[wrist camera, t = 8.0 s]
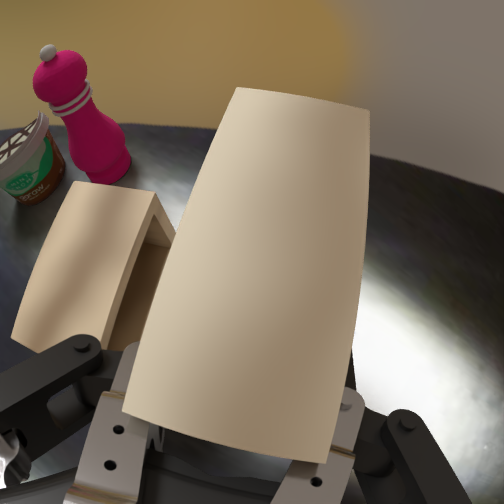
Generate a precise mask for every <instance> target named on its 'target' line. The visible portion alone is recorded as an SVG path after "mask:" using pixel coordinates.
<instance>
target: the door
mask: <svg viewBox="0 0 504 504" xmlns="http://www.w3.org/2000/svg"><path fill="white" fill-rule="evenodd" d="M369 160H370V117H369V110H365V109H361V108H357V107H352V106H348V105H344V104H340V103H335V102H330V101H325V100H320V99H315V98H310V97H304V96H298V95H292V94H286V93H279V92H272V91H265V90H258V89H249V88H240V87H237V88H236V90H235V93H234V95H233V97H232V99H231V101H230V104H229V105H228V108H227V110H226V112H225V114H224V117H223V119H222V121H221V123H220V125H219V128H218V130H217V132H216V135H215V137H214V139H213V142H212V144H211V146H210V149H209V151H208V153H207V156H206V158H205V160H204V163H203V165H202V168H201V170H200V173H199V175H198V178H197V180H196V183H195V185H194V188H193V190H192V193H191V195H190V198H189V200H188V203H187V205H186V208H185V211H184V213H183V216H182V219H181V221H180V224H179V227H178V229H177V232H176V235H175V238H174V240H173V243H172V246H171V249H170V252H169V254H168V257H167V260H166V263H165V266H164V269H163V272H162V275H161V278H160V281H159V284H158V287H157V290H156V293H155V296H154V299H153V302H152V305H151V308H150V311H149V315H148V318H147V321H146V324H145V328H144V331H143V334H142V338H141V341H140V344H139V348H138V351H137V355H136V358H135V362H134V366H133V369H132V373H131V377H130V380H129V384H128V388H127V392H126V396H125V400H124V403H123V408H122V412H125V413H127V414H130V415H132V416H135V417H137V418H140V419H143V420H145V421H148V422H151V423H153V424H156V425H159V426H162V427H165V428H168V429H171V430H174V431H177V432H180V433H183V434H186V435H189V436H193V437H196V438H200V439H203V440H207V441H210V442H214V443H218V444H221V445H225V446H229V447H233V448H238V449H242V450H246V451H251V452H256V453H260V454H265V455H271V456H276V457H282V458H288V459H294V460H300V461H308V462H315V463H323V464H326V461H327V457H328V453H329V450H330V446H331V442H332V438H333V434H334V430H335V426H336V422H337V418H338V413H339V409H340V405H341V400H342V395H343V391H344V386H345V381H346V376H347V371H348V365H349V360H350V354H351V349H352V343H353V337H354V330H355V324H356V317H357V310H358V303H359V295H360V287H361V279H362V270H363V260H364V250H365V238H366V226H367V211H368V191H369Z"/></svg>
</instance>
